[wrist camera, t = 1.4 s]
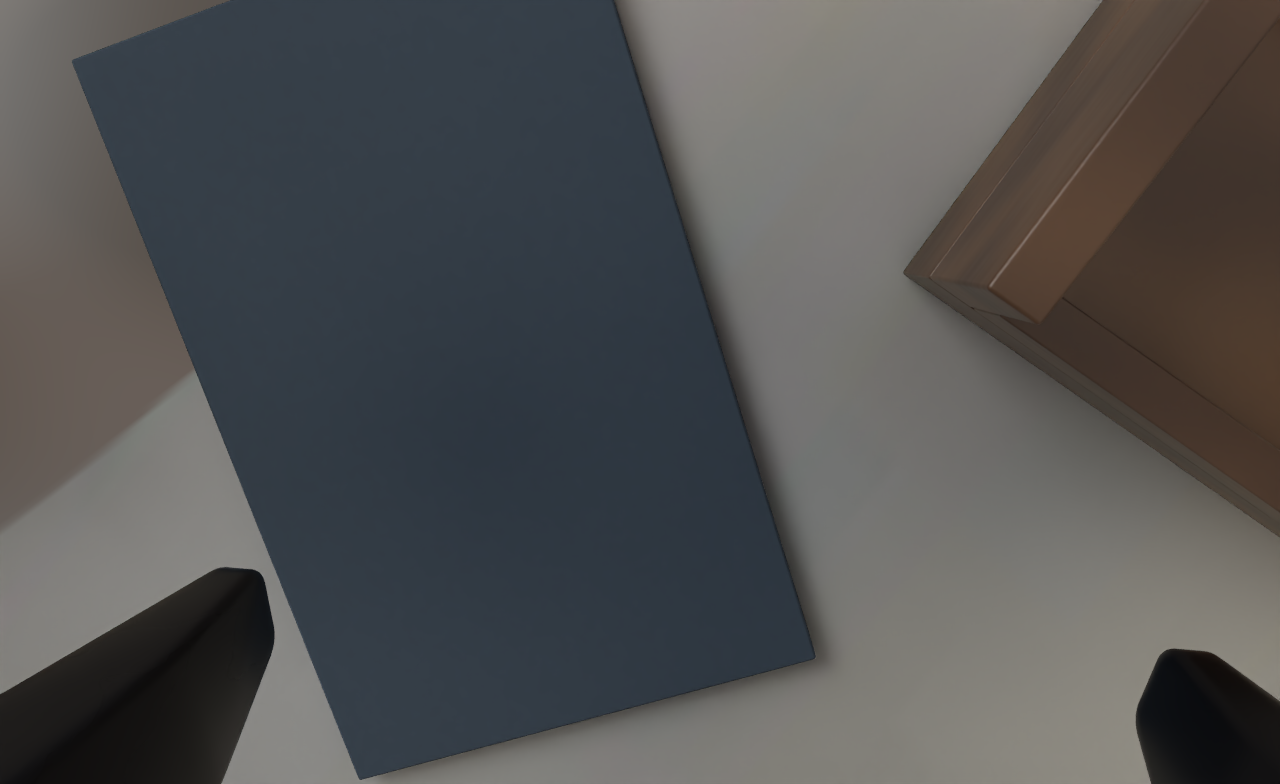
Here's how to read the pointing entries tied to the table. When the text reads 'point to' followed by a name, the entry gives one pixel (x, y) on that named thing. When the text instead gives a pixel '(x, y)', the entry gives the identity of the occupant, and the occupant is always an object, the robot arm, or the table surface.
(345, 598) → the mat
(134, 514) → the table surface
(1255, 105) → the brown wooden tray
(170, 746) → the robot arm
